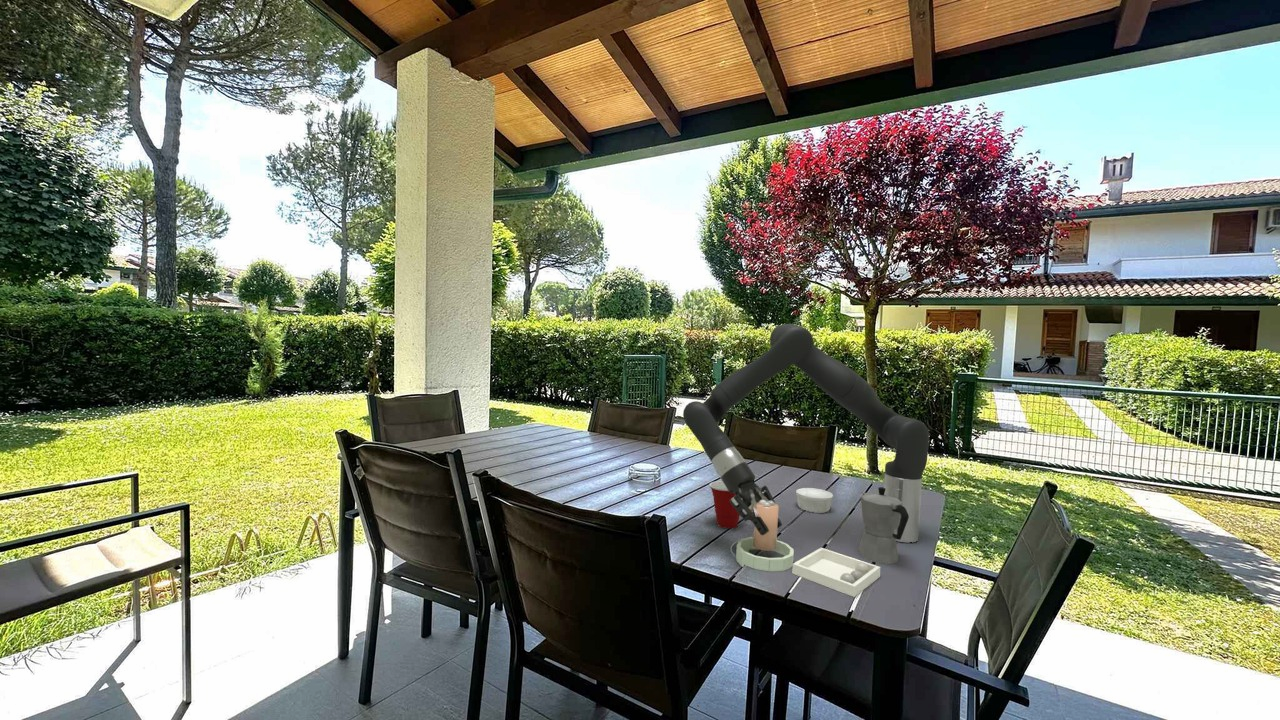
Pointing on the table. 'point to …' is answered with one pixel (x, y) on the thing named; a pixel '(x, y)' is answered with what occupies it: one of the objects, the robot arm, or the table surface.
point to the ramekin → (814, 500)
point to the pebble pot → (770, 518)
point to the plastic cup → (724, 505)
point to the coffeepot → (881, 527)
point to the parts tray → (837, 571)
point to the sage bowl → (762, 562)
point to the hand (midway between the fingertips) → (772, 530)
